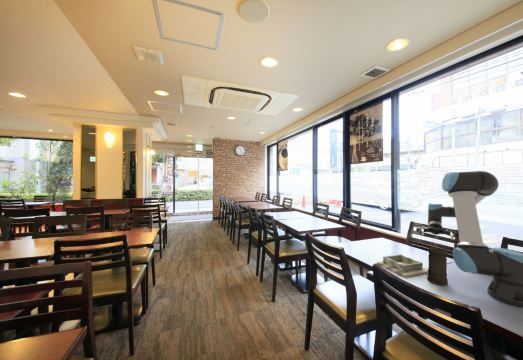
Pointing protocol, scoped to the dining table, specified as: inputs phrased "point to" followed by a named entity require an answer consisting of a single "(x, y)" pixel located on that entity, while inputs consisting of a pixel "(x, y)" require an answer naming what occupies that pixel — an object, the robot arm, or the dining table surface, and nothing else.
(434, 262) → the container
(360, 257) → the dining table surface
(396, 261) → the collar board
